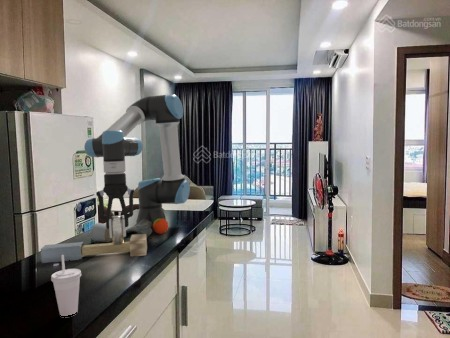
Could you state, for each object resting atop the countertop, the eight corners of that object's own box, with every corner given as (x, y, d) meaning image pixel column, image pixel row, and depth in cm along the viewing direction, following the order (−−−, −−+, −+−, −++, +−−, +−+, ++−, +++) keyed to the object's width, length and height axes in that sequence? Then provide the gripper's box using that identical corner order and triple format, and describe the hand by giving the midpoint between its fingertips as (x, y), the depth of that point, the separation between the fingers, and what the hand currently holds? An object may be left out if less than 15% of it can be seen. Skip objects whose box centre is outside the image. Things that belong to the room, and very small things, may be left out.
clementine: (159, 236, 147) (159, 220, 147) (148, 235, 151) (147, 219, 150) (171, 232, 154) (171, 217, 154) (160, 231, 158) (159, 216, 157)
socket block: (130, 256, 120) (129, 241, 120) (132, 249, 129) (131, 234, 129) (146, 255, 121) (145, 239, 121) (147, 248, 130) (146, 233, 130)
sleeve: (41, 263, 117) (40, 248, 116) (46, 258, 122) (45, 244, 121) (81, 259, 119) (80, 245, 119) (84, 255, 124) (83, 241, 124)
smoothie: (60, 308, 82) (56, 251, 81) (87, 306, 82) (83, 250, 81) (48, 321, 75) (44, 260, 75) (78, 319, 76) (74, 258, 75)
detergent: (145, 246, 133) (163, 229, 158) (142, 228, 133) (161, 214, 157) (113, 249, 135) (136, 232, 159) (111, 231, 134) (134, 217, 159)
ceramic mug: (106, 244, 138) (105, 225, 137) (90, 243, 141) (89, 224, 140) (122, 238, 148) (122, 220, 147) (107, 237, 151) (107, 220, 150)
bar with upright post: (72, 257, 119) (70, 220, 118) (75, 253, 123) (73, 218, 122) (139, 251, 123) (137, 216, 123) (140, 248, 127) (138, 214, 126)
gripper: (87, 174, 117) (91, 241, 118) (138, 172, 120) (141, 237, 121) (92, 173, 124) (95, 235, 126) (139, 171, 127) (142, 232, 129)
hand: (118, 236), depth 124 cm, fingers closed on bar with upright post, 4 cm apart
